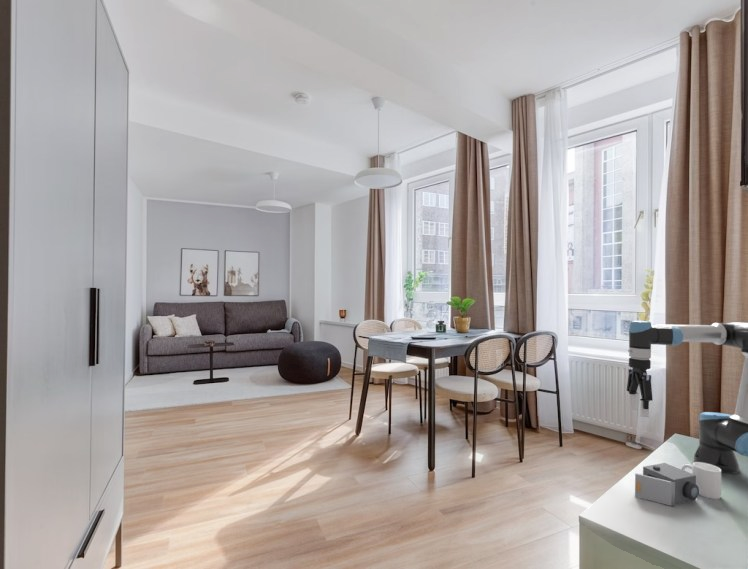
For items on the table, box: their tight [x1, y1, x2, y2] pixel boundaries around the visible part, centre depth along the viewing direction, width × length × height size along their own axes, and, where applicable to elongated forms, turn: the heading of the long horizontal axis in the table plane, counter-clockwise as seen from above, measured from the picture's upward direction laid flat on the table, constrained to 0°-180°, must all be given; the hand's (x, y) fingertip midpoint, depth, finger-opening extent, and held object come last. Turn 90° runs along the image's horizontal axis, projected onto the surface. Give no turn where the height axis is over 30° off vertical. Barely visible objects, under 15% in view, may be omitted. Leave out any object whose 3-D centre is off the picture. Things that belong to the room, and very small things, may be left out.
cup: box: [680, 462, 722, 500], centre depth 151 cm, size 8×12×10 cm
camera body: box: [642, 462, 699, 506], centre depth 146 cm, size 12×13×10 cm
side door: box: [634, 473, 676, 507], centre depth 142 cm, size 2×12×8 cm, turn 56°
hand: (638, 413), depth 164 cm, fingers open, 9 cm apart
